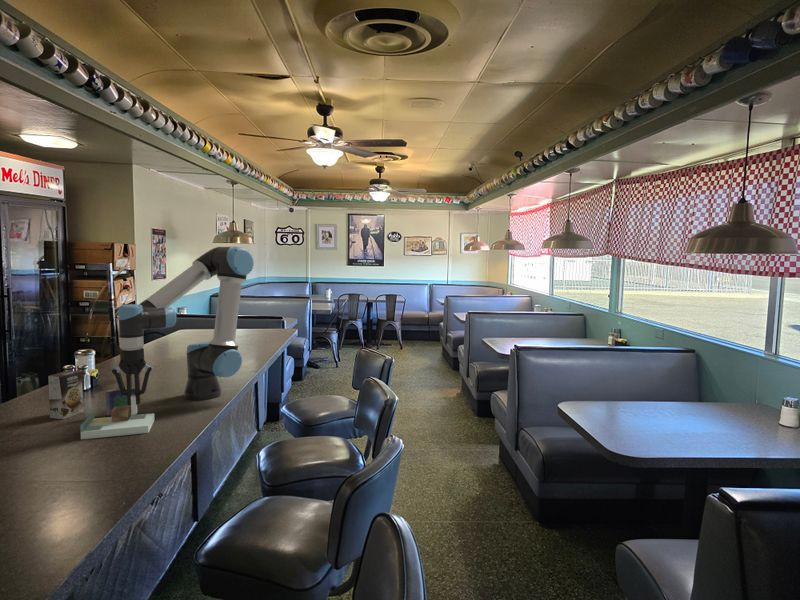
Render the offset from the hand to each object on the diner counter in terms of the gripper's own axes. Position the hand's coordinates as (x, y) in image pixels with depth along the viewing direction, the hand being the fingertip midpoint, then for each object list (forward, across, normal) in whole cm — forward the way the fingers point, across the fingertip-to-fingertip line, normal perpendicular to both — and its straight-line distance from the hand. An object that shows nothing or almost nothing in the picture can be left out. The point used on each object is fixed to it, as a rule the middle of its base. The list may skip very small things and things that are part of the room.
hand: (134, 413), depth 177 cm
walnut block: (+2, +4, +1) cm, 4 cm away
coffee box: (+4, +26, -19) cm, 33 cm away
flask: (+4, +7, -15) cm, 17 cm away
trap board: (+4, +4, +4) cm, 7 cm away
